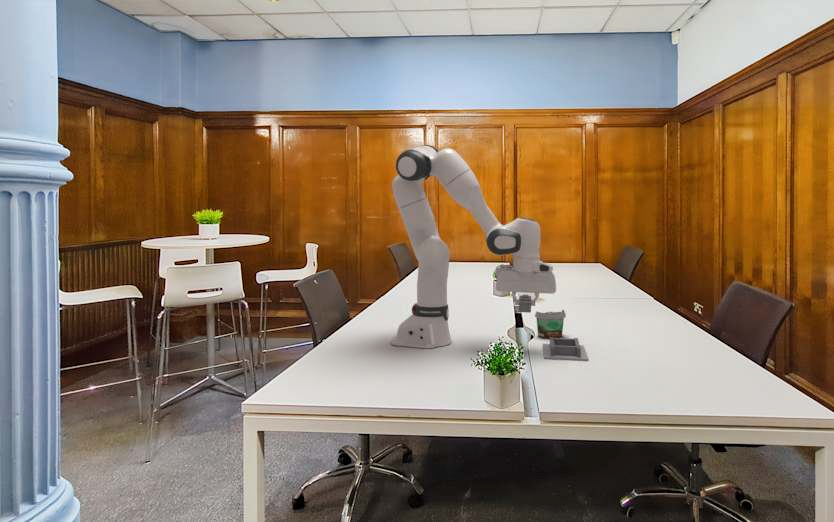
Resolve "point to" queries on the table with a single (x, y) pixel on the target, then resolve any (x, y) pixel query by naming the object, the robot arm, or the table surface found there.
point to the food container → (550, 324)
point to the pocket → (564, 350)
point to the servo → (524, 303)
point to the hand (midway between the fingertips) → (525, 305)
